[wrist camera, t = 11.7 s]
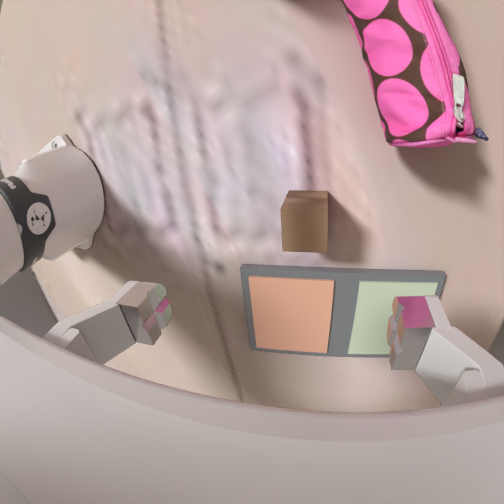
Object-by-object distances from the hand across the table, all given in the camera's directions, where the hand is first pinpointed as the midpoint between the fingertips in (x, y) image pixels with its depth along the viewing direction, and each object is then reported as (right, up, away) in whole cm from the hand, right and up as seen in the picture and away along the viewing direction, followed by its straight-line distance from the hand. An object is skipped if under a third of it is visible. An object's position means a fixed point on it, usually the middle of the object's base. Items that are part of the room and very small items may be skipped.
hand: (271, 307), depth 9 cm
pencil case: (+13, +22, +9) cm, 28 cm away
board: (+11, -6, +25) cm, 28 cm away
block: (+5, +6, +20) cm, 21 cm away
